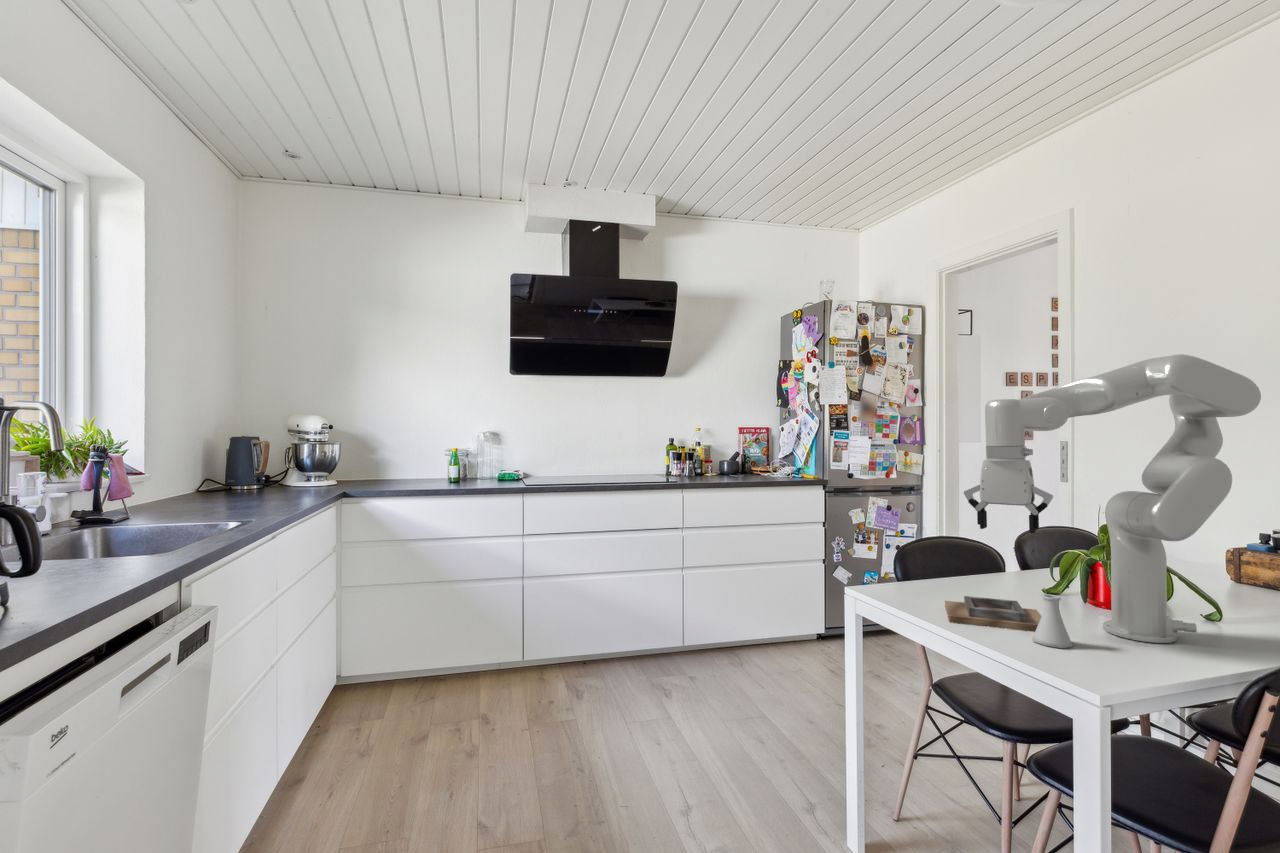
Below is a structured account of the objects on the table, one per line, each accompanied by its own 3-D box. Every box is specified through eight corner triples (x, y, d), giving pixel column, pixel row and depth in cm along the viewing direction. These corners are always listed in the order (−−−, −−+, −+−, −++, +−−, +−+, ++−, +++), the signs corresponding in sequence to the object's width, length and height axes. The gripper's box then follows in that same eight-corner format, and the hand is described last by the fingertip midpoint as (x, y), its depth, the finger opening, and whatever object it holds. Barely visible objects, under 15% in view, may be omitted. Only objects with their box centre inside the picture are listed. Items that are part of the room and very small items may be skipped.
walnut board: (1036, 615, 146) (1036, 601, 146) (1049, 633, 133) (1049, 617, 133) (944, 606, 154) (944, 592, 154) (949, 622, 141) (949, 607, 141)
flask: (1066, 651, 122) (1066, 602, 122) (1026, 642, 128) (1026, 595, 128) (1077, 644, 127) (1077, 596, 127) (1038, 635, 132) (1038, 590, 132)
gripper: (1054, 453, 131) (1056, 531, 131) (967, 453, 143) (969, 524, 143) (1048, 455, 126) (1050, 536, 126) (958, 454, 138) (960, 528, 137)
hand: (1007, 530), depth 134 cm, fingers open, 9 cm apart
